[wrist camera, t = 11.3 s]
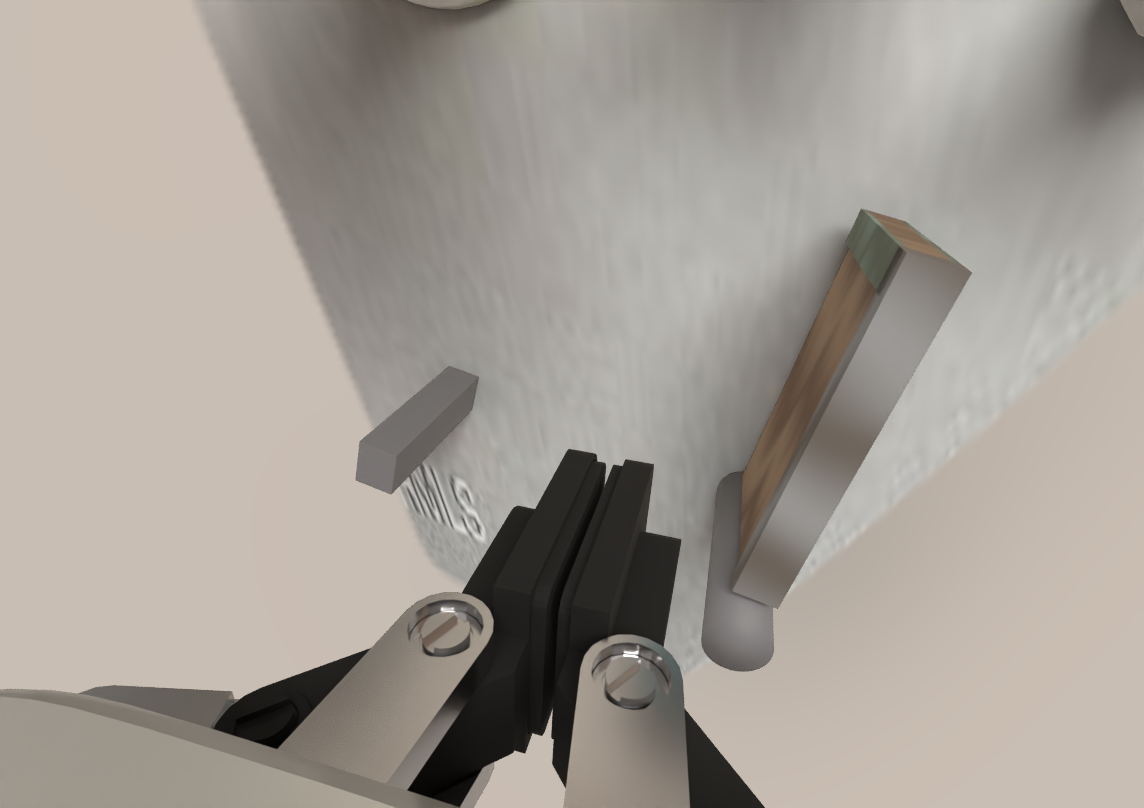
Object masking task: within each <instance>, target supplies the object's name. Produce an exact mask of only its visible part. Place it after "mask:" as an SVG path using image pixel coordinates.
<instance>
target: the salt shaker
mask: <svg viewBox="0 0 1144 808" xmlns="http://www.w3.org/2000/svg"><path fill="white" fill-rule="evenodd" d="M1120 2H1121V4H1122V6H1123V8H1124V10H1125V12H1126V13H1127V15H1128V17H1129V19H1130V21H1131V23H1132V25H1133V27H1134V28H1135V30H1136V32H1137V34H1138V35H1140V36H1142V37H1144V0H1120Z"/></svg>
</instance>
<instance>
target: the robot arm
mask: <svg viewBox="0 0 1144 808" xmlns="http://www.w3.org/2000/svg"><path fill="white" fill-rule="evenodd" d="M407 1H410V2H412V3H415V4H419V5H422V6H426V7H430V8H437V9H461V8H466V7H471V6H477V5H480V4H482V3H484V2H487V1H489V0H407ZM653 470H654V464H649V463H643V462H638V461H632V460H627V459H626V460H625V462H624V464H623V466H619V465H613V467H612V469H611V472H610V474H609V477H608V479H607V482H606V484H605V473H606V463H602V462H597V455H596V454H594V453H589V452H583V451H578V450H572V449H568V451H567V452H566V454H565V456H564V457H563V459H562V461H561V463H560V465H559V467H558V468H557V470H556V472H555V474H554V476H553V478H552V479H551V481H550V483H549V485H548V487H547V489H546V490H545V492H544V494H543V496H542V498H541V500H540V501H539V503H538V505H537V507H536V509H531V508H527V507H522V506H516V507H514V508H513V509H512V511H511V512H510V514H509V515H508V517H507V519H506V520H505V522H504V524H503V525H502V527H501V529H500V530H499V532H498V534H497V535H496V537H495V539H494V540H493V542H492V544H491V545H490V547H489V549H488V550H487V552H486V554H485V555H484V557H483V559H482V560H481V562H480V564H479V565H478V567H477V568H476V570H475V572H474V573H473V575H472V577H471V578H470V580H469V582H468V583H467V585H466V587H465V588H464V590H463V592H462V593H458V592H444V593H439V594H435V595H431V596H428V597H426V598H424V599H422V600H420V601H418V602H416V603H415V604H414V605H412V606H411V607H410V608H409V609H407V610H406V611H405V612H404V613H403V614H402V616H401V617H400V618H399V619H398V620H397V621H396V622H395V623H394V624H393V625H392V626H391V627H390V628H389V630H388V631H387V632H386V633H385V634H384V635H383V636H382V637H381V638H380V639H379V640H378V641H377V642H376V644H375V645H374V646H373V647H372V648H370V649H367V650H364V651H362V652H359V653H356V654H353V655H351V656H348V657H345V658H342V659H339V660H337V661H334V662H331V663H328V664H326V665H323V666H320V667H317V668H314V669H312V670H309V671H306V672H303V673H301V674H298V675H295V676H292V677H290V678H287V679H284V680H281V681H278V682H276V683H273V684H270V685H267V686H265V687H262V688H260V689H258V690H256V691H253V692H252V693H250V694H248V695H245V696H244V697H242V698H241V699H234V697H233V693H232V692H231V691H213V690H194V689H174V688H155V687H136V686H116V685H113V686H103V687H95V688H92V689H90V690H87V691H84V692H81V693H78V694H76V693H68V692H61V691H52V690H27V689H2V690H0V808H474V806H475V804H476V803H477V800H478V799H479V797H480V796H481V794H482V792H483V790H484V789H485V787H486V785H487V783H488V781H489V779H490V777H491V774H492V771H493V769H494V762H495V761H497V760H499V759H502V758H504V757H506V756H508V755H510V754H512V753H513V752H514V750H515V751H518V752H522V753H525V752H526V750H527V747H528V744H529V741H530V738H531V736H532V733H534V734H537V735H541V736H542V735H543V734H544V732H545V729H546V726H547V723H548V720H549V718H550V715H551V711H552V709H553V716H552V734H551V738H552V739H554V744H553V761H552V764H553V766H554V768H555V770H556V772H557V773H558V775H559V777H560V779H561V781H562V783H563V784H564V786H565V788H566V791H565V799H564V807H563V808H765V807H764V806H763V805H762V804H761V802H760V801H759V800H758V799H757V798H756V796H755V795H754V794H753V792H752V791H751V790H750V789H749V788H748V786H747V785H746V784H745V783H744V781H743V780H742V779H741V778H740V776H739V775H738V774H737V773H736V771H735V770H734V769H733V768H732V766H731V765H730V764H729V763H728V762H727V760H726V759H725V758H724V757H723V755H722V754H721V753H720V752H719V751H718V749H717V748H716V747H715V746H714V744H713V743H712V742H711V741H710V739H709V738H708V737H707V736H706V735H705V733H704V732H703V731H702V729H701V728H700V727H699V726H698V725H697V723H696V722H695V721H694V720H693V718H692V717H691V716H690V715H689V713H688V712H687V711H686V710H685V709H684V693H683V679H682V675H681V671H680V667H679V666H678V664H677V662H676V661H675V659H674V658H673V656H672V655H671V654H670V653H669V652H668V651H667V650H666V649H664V648H663V646H664V641H665V635H666V629H667V623H668V617H669V611H670V605H671V599H672V593H673V587H674V581H675V575H676V569H677V563H678V557H679V551H680V545H681V539H677V538H672V537H667V536H662V535H657V534H653V533H648V532H646V524H647V517H648V509H649V501H650V494H651V486H652V478H653ZM604 484H605V487H604Z"/></svg>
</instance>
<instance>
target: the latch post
mask: <svg viewBox="0 0 1144 808" xmlns="http://www.w3.org/2000/svg"><path fill="white" fill-rule="evenodd" d="M478 378H479V377H477V376H475V375H472V374H469V373H466V372H464V371H461V370H458V369H456V368H453V367H450V366H449V367H448V368H447V369H445V370H444V371H443V372H442V373H441V374H439V375H438V376H437V377H436V378H435V379H433V380H432V381H431V382H430V383H429V384H428V385H426V386H425V387H424V388H423V389H422V390H420V391H419V392H418V393H417V394H416V395H414V396H413V397H412V398H411V399H410V400H408V401H407V402H406V403H405V404H404V405H402V406H401V407H400V408H399V409H398V410H397V411H395V412H394V413H393V414H392V415H391V416H389V417H388V418H387V419H386V420H385V421H383V422H382V423H381V424H380V425H379V426H377V427H376V428H375V429H374V430H373V431H371V432H370V433H369V434H368V435H367V436H366V437H364V438H363V439H362V440H361V441H360V443H359V453H358V463H357V472H356V481H359V482H362V483H364V484H366V485H369V486H372V487H374V488H376V489H379V490H382V491H384V492H386V493H389V494H392V493H393V492H394V491H395V490H396V489H397V488H398V487H399V486H400V485H401V484H402V483H403V482H404V481H405V480H406V478H407V477H408V476H409V475H410V474H411V473H412V472H413V471H414V470H415V469H416V468H417V467H418V466H419V465H420V464H421V463H422V462H423V461H424V459H425V458H426V457H427V456H428V455H429V454H430V453H431V452H432V451H433V450H434V449H435V448H436V447H437V446H438V445H439V444H440V443H441V442H442V440H443V439H444V438H445V437H446V436H447V435H448V434H449V433H450V432H451V431H452V430H453V429H454V428H455V427H456V426H457V425H458V424H459V423H460V421H461V420H462V419H463V418H464V417H465V416H466V415H467V414H468V413H469V412H470V411H471V410H472V407H473V402H474V397H475V392H476V387H477V383H478Z"/></svg>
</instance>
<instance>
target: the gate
mask: <svg viewBox="0 0 1144 808" xmlns="http://www.w3.org/2000/svg"><path fill="white" fill-rule="evenodd" d="M845 244H846V245H847V247H848V248H849V249H848V252H847V254H846V256H845V258H844V260H843V262H842V264H841V267H840V269H839V271H838V273H837V275H836V277H835V279H834V281H833V284H832V286H831V288H830V290H829V292H828V294H827V296H826V299H825V301H824V303H823V305H822V307H821V309H820V311H819V314H818V316H817V318H816V320H815V322H814V324H813V326H812V328H811V331H810V333H809V335H808V337H807V339H806V341H805V343H804V346H803V348H802V350H801V352H800V354H799V356H798V358H797V360H796V363H795V365H794V367H793V369H792V371H791V373H790V375H789V378H788V380H787V382H786V384H785V386H784V388H783V390H782V393H781V395H780V397H779V399H778V401H777V403H776V405H775V407H774V410H773V412H772V414H771V416H770V418H769V420H768V422H767V425H766V427H765V429H764V431H763V433H762V435H761V437H760V439H759V442H758V444H757V446H756V448H755V450H754V452H753V454H752V457H751V459H750V461H749V463H748V465H747V467H746V469H745V472H744V474H743V478H742V502H741V526H740V551H739V562H738V564H737V566H736V568H735V570H734V572H733V583H732V591H733V592H735V593H738V594H740V595H743V596H746V597H748V598H751V599H753V600H756V601H759V602H761V603H764V604H767V605H769V606H772V607H774V608H777V609H778V608H779V606H780V604H781V602H782V601H783V599H784V597H785V596H786V594H787V592H788V590H789V589H790V587H791V585H792V583H793V582H794V580H795V578H796V576H797V575H798V573H799V571H800V570H801V568H802V566H803V564H804V563H805V561H806V559H807V557H808V556H809V554H810V552H811V551H812V549H813V547H814V545H815V544H816V542H817V540H818V538H819V537H820V535H821V533H822V531H823V530H824V528H825V526H826V525H827V523H828V521H829V519H830V518H831V516H832V514H833V512H834V511H835V509H836V507H837V506H838V504H839V502H840V500H841V499H842V497H843V495H844V493H845V492H846V490H847V488H848V486H849V485H850V483H851V481H852V480H853V478H854V476H855V474H856V473H857V471H858V469H859V467H860V466H861V464H862V462H863V461H864V459H865V457H866V455H867V454H868V452H869V450H870V448H871V447H872V445H873V443H874V441H875V440H876V438H877V436H878V435H879V433H880V431H881V429H882V428H883V426H884V424H885V422H886V421H887V419H888V417H889V416H890V414H891V412H892V410H893V409H894V407H895V405H896V403H897V402H898V400H899V398H900V396H901V395H902V393H903V391H904V390H905V388H906V386H907V384H908V383H909V381H910V379H911V377H912V376H913V374H914V372H915V371H916V369H917V367H918V365H919V364H920V362H921V360H922V358H923V357H924V355H925V353H926V351H927V350H928V348H929V346H930V345H931V343H932V341H933V339H934V338H935V336H936V334H937V332H938V331H939V329H940V327H941V326H942V324H943V322H944V320H945V319H946V317H947V315H948V313H949V312H950V310H951V308H952V306H953V305H954V303H955V301H956V300H957V298H958V296H959V294H960V293H961V291H962V289H963V287H964V286H965V284H966V282H967V281H968V279H969V277H970V275H971V274H972V272H971V271H969V270H968V269H967V268H965V267H964V266H963V265H961V264H960V263H959V262H958V261H956V260H955V259H954V258H952V257H951V256H950V255H948V254H947V253H946V252H945V251H943V250H942V249H941V248H939V247H938V246H937V245H935V244H934V243H933V242H932V241H930V240H929V239H928V238H926V237H925V236H924V235H922V234H921V233H920V232H919V231H917V230H916V229H915V228H913V227H912V226H911V225H909V224H908V223H907V222H905V221H901V220H898V219H895V218H891V217H888V216H885V215H881V214H878V213H874V212H871V211H868V210H864V209H861V210H860V213H859V215H858V217H857V219H856V221H855V223H854V225H853V228H852V230H851V232H850V234H849V236H848V238H847V241H846V243H845Z"/></svg>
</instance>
